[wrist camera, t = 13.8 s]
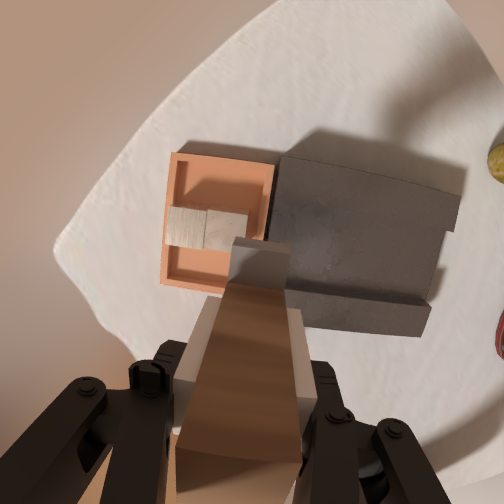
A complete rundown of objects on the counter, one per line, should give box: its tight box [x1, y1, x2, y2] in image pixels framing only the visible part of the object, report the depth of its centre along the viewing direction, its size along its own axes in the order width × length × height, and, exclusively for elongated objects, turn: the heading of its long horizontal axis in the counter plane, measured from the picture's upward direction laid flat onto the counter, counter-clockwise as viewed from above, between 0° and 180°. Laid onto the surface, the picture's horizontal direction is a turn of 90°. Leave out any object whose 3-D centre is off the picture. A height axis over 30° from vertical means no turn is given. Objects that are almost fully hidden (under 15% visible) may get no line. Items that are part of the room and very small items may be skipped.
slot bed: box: [267, 156, 461, 337], centre depth 34 cm, size 17×20×5 cm
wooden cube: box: [203, 204, 250, 253], centre depth 34 cm, size 4×4×4 cm
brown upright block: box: [175, 236, 303, 504], centre depth 13 cm, size 7×3×13 cm, turn 172°
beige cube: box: [165, 201, 212, 250], centre depth 34 cm, size 4×4×4 cm
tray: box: [160, 152, 275, 295], centre depth 36 cm, size 15×11×2 cm
